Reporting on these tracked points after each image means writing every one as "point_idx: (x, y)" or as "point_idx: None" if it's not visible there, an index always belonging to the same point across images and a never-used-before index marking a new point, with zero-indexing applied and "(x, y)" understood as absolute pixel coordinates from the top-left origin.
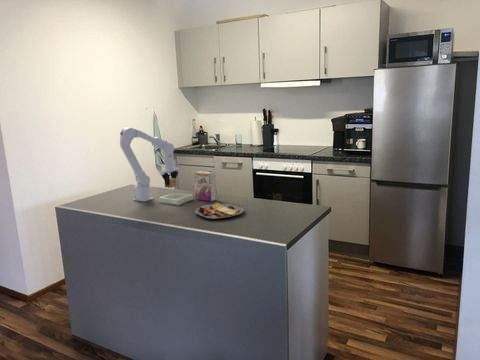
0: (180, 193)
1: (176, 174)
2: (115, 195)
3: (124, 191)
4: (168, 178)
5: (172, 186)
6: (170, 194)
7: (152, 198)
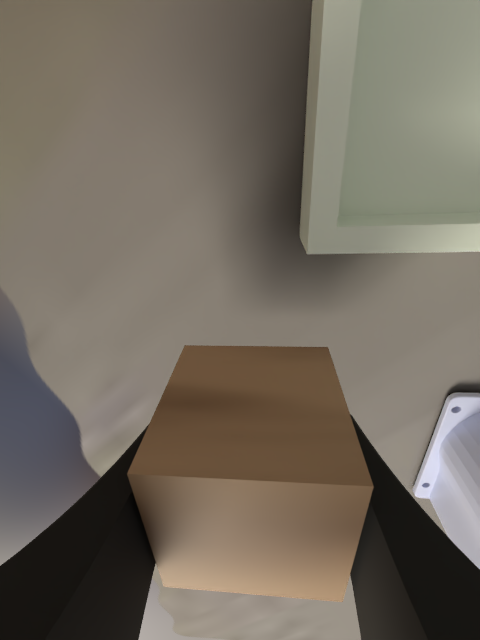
0: (348, 89)
1: (16, 613)
2: None
3: (309, 614)
4: (445, 565)
5: (290, 356)
6: (458, 223)
7: (476, 396)
